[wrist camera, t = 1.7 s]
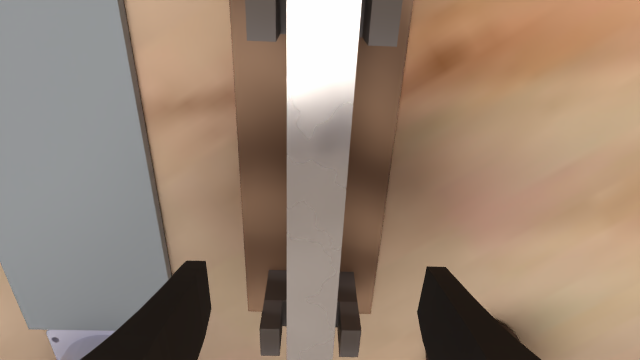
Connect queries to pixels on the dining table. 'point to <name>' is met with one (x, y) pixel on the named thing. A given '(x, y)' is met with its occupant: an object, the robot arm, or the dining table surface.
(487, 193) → the dining table surface
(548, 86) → the dining table surface
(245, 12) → the wooden stand
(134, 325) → the robot arm
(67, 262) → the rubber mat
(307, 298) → the steel rail
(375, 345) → the dining table surface
